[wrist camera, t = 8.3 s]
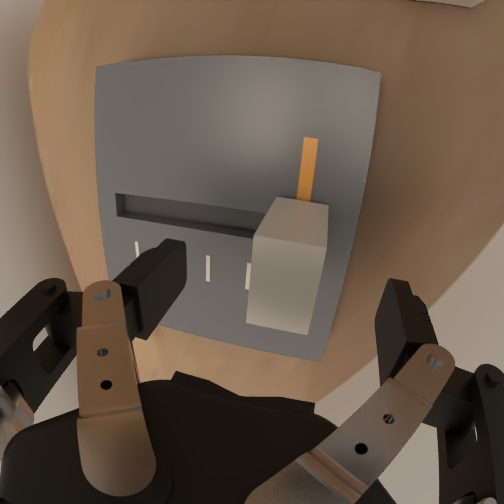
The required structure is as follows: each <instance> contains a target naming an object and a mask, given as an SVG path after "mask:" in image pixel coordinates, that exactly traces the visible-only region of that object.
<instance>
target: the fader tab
mask: <svg viewBox="0 0 504 504" xmlns="http://www.w3.org/2000/svg"><path fill="white" fill-rule="evenodd" d="M328 210H329V205H325V204H319V203H313V202H307V201H301V200H295V199H289V198H283V197H276V199H275V200H274V202H273V204H272V205H271V207H270V209H269V210H268V212H267V214H266V215H265V217H264V219H263V220H262V222H261V224H260V225H259V227H258V229H257V231H256V232H255V234H254V237H253V249H252V260H251V271H250V283H249V294H248V306H247V317H246V323H249V324H253V325H258V326H263V327H268V328H273V329H278V330H283V331H288V332H293V333H299V334H304V335H308V331H309V326H310V322H311V318H312V314H313V310H314V305H315V301H316V297H317V292H318V288H319V283H320V279H321V274H322V269H323V265H324V260H325V255H326V250H327V235H328Z"/></svg>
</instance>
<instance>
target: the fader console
mask: <svg viewBox="0 0 504 504" xmlns="http://www.w3.org/2000/svg"><path fill="white" fill-rule="evenodd" d="M380 81H381V72H378V71H373V70H368V69H363V68H358V67H352V66H347V65H341V64H334V63H327V62H320V61H312V60H303V59H293V58H282V57H267V56H243V55H205V56H181V57H167V58H155V59H146V60H137V61H129V62H122V63H115V64H109V65H103V66H97V67H96V83H95V155H96V174H97V189H98V201H99V211H100V220H101V229H102V237H103V244H104V251H105V258H106V265H107V271H108V277H109V281H112V280H113V279H114V278H115V277H117V276H118V275H119V274H120V273H121V272H122V271H123V270H124V269H125V268H126V267H127V266H128V265H129V266H130V263H132V262H133V261H134V260H136V258H137V257H138V256H139V255H140V254H141V253H142V252H144V251H147V250H149V249H151V248H156V247H157V246H158V245H159V244H160V243H161V242H163V241H164V240H165V239H166V238H170V239H175V240H181V241H184V242H185V243H186V253H187V281H186V285H185V287H184V289H183V291H182V292H181V293H180V295H179V296H178V297H177V299H176V300H175V302H174V303H173V304H172V306H171V307H170V308H169V310H168V311H167V313H166V314H165V315H164V317H163V318H162V319H161V321H160V322H159V324H158V325H161V326H164V327H168V328H171V329H175V330H179V331H182V332H186V333H190V334H194V335H197V336H201V337H205V338H209V339H213V340H217V341H221V342H225V343H230V344H234V345H238V346H243V347H247V348H252V349H256V350H261V351H266V352H270V353H275V354H280V355H285V356H290V357H296V358H301V359H307V360H312V361H318V362H321V360H322V356H323V353H324V350H325V347H326V344H327V340H328V337H329V334H330V330H331V327H332V324H333V320H334V317H335V313H336V310H337V306H338V302H339V299H340V295H341V291H342V288H343V284H344V280H345V276H346V272H347V268H348V264H349V260H350V256H351V252H352V247H353V243H354V239H355V234H356V230H357V225H358V220H359V216H360V211H361V206H362V201H363V196H364V190H365V185H366V180H367V174H368V168H369V162H370V156H371V150H372V144H373V137H374V130H375V123H376V115H377V107H378V99H379V90H380ZM276 197H283V198H289V199H295V200H301V201H307V202H313V203H319V204H325V205H329V210H328V235H327V250H326V255H325V260H324V265H323V269H322V274H321V279H320V283H319V288H318V292H317V297H316V301H315V305H314V310H313V314H312V318H311V322H310V326H309V331H308V335H304V334H299V333H293V332H288V331H283V330H278V329H273V328H268V327H263V326H258V325H253V324H249V323H246V317H247V306H248V294H249V283H250V271H251V260H252V249H253V237H254V234H255V232H256V231H257V229H258V227H259V225H260V224H261V222H262V220H263V219H264V217H265V215H266V214H267V212H268V210H269V209H270V207H271V205H272V204H273V202H274V200H275V199H276Z"/></svg>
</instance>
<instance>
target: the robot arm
mask: <svg viewBox="0 0 504 504" xmlns="http://www.w3.org/2000/svg"><path fill="white" fill-rule="evenodd" d="M186 281H187V253H186V243H185V242H184V241H181V240H175V239H170V238H166V239H165V240H164V241H163V242H161V243H160V244H159V245H158V246H157V247H156V248H151V249H149V250H147V251H144V252H142V253H141V254H140V255H139V256H138V257H137V258H136V260H134V261H133V262H132V263H130V266H129V265H128V266H127V267H126V268H125V269H124V270H123V271H122V272H121V273H120V274H119V275H118V276H117V277H115V278H114V279H113V280H112V281H108V280H104V281H98V282H95V283H92V284H91V285H89V286H88V287H87V288H86V289H85V290H84V292H69V291H67V287H66V283H65V281H64V280H62V279H59V278H50V279H46V280H43V281H41V282H39V283H38V284H37V285H36V286H35V287H33V288H32V289H31V290H30V291H29V292H28V293H27V294H26V295H25V296H23V297H22V298H21V299H20V300H19V301H18V302H17V303H16V304H15V305H14V306H13V307H12V308H11V309H10V310H9V311H7V312H6V313H5V314H4V315H3V316H2V317H1V318H0V463H2V465H1V475H0V504H396V502H395V501H394V500H393V499H392V497H391V496H390V494H389V493H388V492H387V490H386V489H385V488H384V487H383V485H382V484H381V482H380V481H379V480H378V477H379V476H380V475H381V473H382V472H383V471H384V470H385V469H386V468H387V466H388V465H389V464H390V463H391V462H392V460H393V459H394V458H395V457H396V456H397V454H398V453H399V452H400V451H401V449H402V448H403V447H404V445H405V444H406V443H407V442H408V440H409V439H410V438H411V436H412V435H413V433H414V432H415V431H416V429H417V428H418V427H419V425H420V424H421V423H425V424H427V425H430V426H433V427H436V428H437V438H438V453H439V504H504V374H503V372H502V371H501V370H499V369H498V368H497V367H495V366H493V365H490V364H482V365H480V366H479V367H478V368H477V369H476V371H475V372H474V373H471V372H468V371H466V370H463V369H460V368H458V367H455V361H454V358H453V356H452V355H451V354H450V352H449V351H447V350H446V349H445V348H443V347H441V346H439V345H438V341H437V338H436V335H435V332H434V329H433V325H432V323H431V320H430V317H429V315H428V311H427V308H426V305H425V304H424V302H423V301H422V300H421V299H420V298H419V297H418V296H415V295H413V294H412V291H411V288H410V285H409V282H408V281H403V280H397V279H392V278H390V279H389V280H388V281H387V284H386V287H385V290H384V293H383V296H382V298H381V301H380V304H379V307H378V310H377V313H376V317H375V333H376V343H377V353H378V364H379V376H380V388H379V389H378V390H377V391H376V392H375V393H374V394H373V395H372V396H371V397H370V398H369V399H368V400H367V401H366V402H365V403H364V404H363V405H362V406H361V407H360V408H359V409H358V410H357V411H356V412H355V413H354V414H353V415H352V416H350V417H349V418H348V419H347V420H346V421H345V422H344V423H343V424H342V425H341V426H340V427H337V426H336V425H334V424H333V423H332V422H330V421H328V420H327V419H325V418H323V417H321V416H319V415H317V414H315V413H314V407H315V403H312V402H306V401H300V400H295V399H289V398H284V397H245V396H239V395H237V394H235V393H233V392H231V391H229V390H227V389H225V388H223V387H221V386H219V385H217V384H215V383H213V382H211V381H209V380H206V379H202V378H199V377H195V376H191V375H188V374H185V373H181V372H178V371H176V372H175V373H174V375H173V377H172V379H171V380H153V381H147V382H143V383H141V381H140V377H139V373H138V368H137V363H136V359H135V354H134V349H133V344H132V341H133V339H134V338H135V337H137V338H140V339H143V340H147V339H148V338H149V336H150V335H151V333H152V332H153V331H154V329H155V328H156V326H157V325H158V324H159V322H160V321H161V319H162V318H163V317H164V315H165V314H166V313H167V311H168V310H169V308H170V307H171V306H172V304H173V303H174V302H175V300H176V299H177V297H178V296H179V295H180V293H181V292H182V291H183V289H184V287H185V285H186ZM44 327H45V328H46V331H47V333H48V336H47V337H46V339H45V340H44V341H43V342H42V343H41V344H40V345H39V347H38V348H37V349H36V350H35V351H33V341H34V339H35V337H36V336H37V335H38V333H39V332H40V331H41V330H42V329H43V328H44ZM76 355H77V383H78V400H79V408H78V409H75V410H73V411H70V412H67V413H64V414H62V415H59V416H56V417H54V418H51V419H48V420H45V421H42V422H40V423H37V424H34V425H33V422H34V413H35V412H36V410H37V409H38V407H39V406H40V404H41V403H42V402H43V400H44V399H45V397H46V396H47V394H48V393H49V392H50V390H51V389H52V387H53V386H54V384H55V383H56V382H57V381H58V379H59V378H60V376H61V375H62V374H63V372H64V371H65V370H66V368H67V367H68V366H69V364H70V363H71V361H72V360H73V359H74V358H75V356H76ZM475 427H476V431H477V441H476V434H475Z"/></svg>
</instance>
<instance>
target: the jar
mask: <svg viewBox="0 0 504 504" xmlns="http://www.w3.org/2000/svg"><path fill="white" fill-rule="evenodd" d="M418 1H428V2H437V3H445V4H451V5H458V6H464V7H469V8H473V7H474V6H476V5H478V4H479V3H481V2H483V1H484V0H418Z"/></svg>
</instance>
